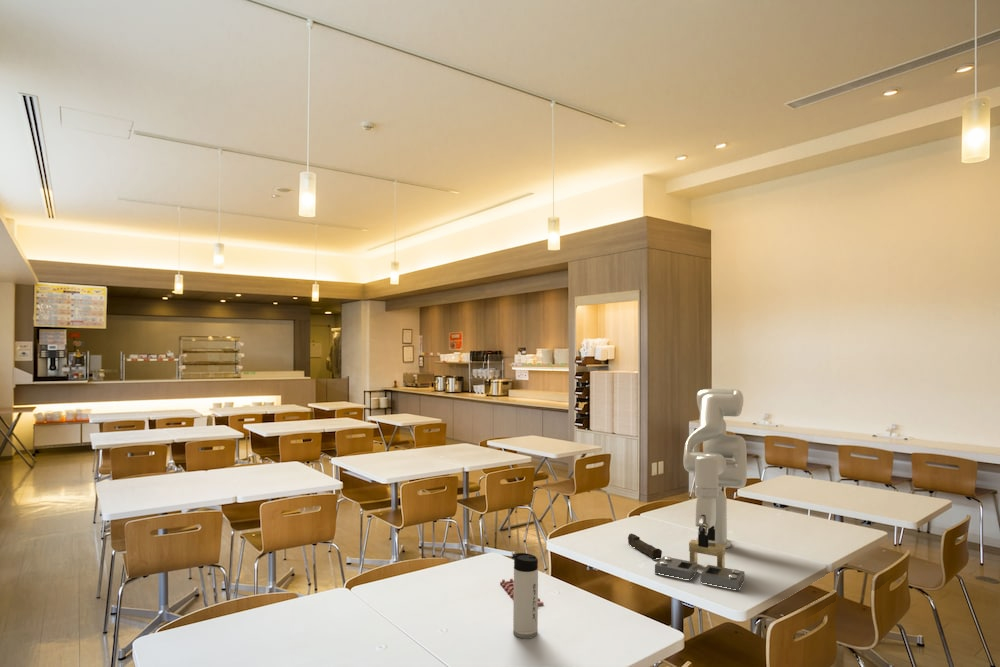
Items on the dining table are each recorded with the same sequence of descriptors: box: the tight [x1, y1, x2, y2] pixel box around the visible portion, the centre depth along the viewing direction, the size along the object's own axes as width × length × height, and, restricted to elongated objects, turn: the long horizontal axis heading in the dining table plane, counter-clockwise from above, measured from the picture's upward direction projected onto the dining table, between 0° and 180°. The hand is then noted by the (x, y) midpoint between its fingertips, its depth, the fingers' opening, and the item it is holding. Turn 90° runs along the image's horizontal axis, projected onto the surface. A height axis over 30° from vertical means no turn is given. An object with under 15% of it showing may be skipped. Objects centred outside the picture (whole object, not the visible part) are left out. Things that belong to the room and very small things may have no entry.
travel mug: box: [512, 552, 539, 640], centre depth 152 cm, size 6×7×20 cm
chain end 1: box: [654, 556, 699, 581], centre depth 196 cm, size 10×11×4 cm
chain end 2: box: [700, 564, 745, 591], centre depth 188 cm, size 10×11×4 cm
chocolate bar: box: [499, 578, 544, 607], centre depth 177 cm, size 7×19×2 cm, turn 18°
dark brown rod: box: [627, 533, 663, 560], centre depth 218 cm, size 19×4×5 cm, turn 17°
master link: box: [688, 539, 726, 568], centre depth 201 cm, size 4×11×8 cm, turn 58°
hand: (706, 543), depth 201 cm, fingers open, 9 cm apart
